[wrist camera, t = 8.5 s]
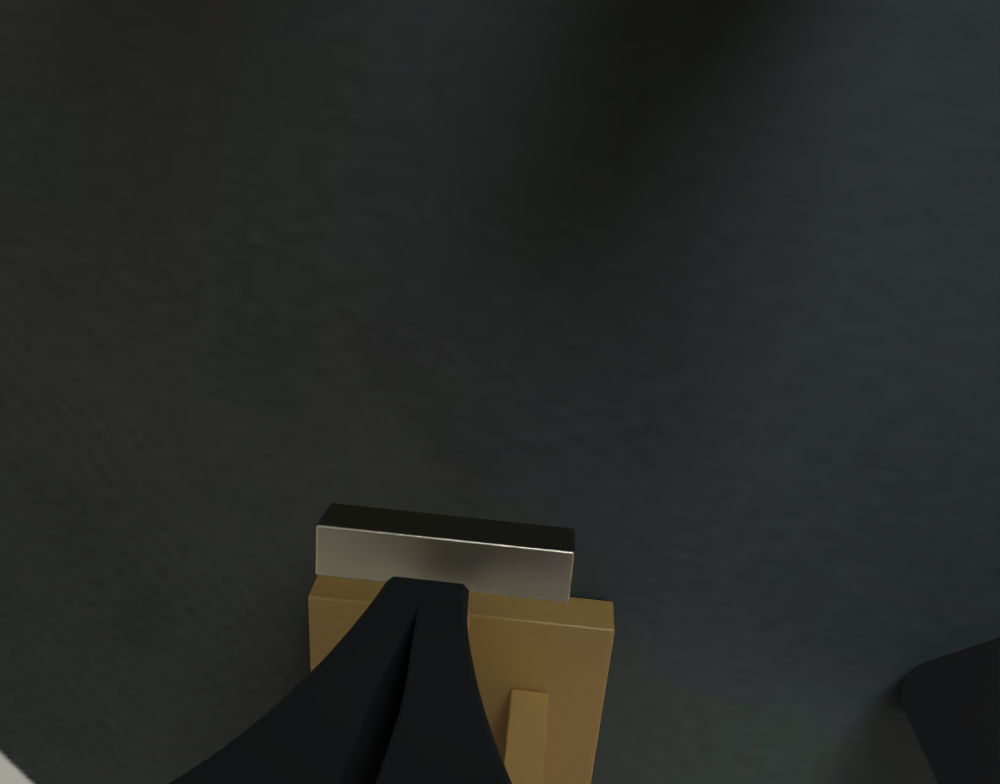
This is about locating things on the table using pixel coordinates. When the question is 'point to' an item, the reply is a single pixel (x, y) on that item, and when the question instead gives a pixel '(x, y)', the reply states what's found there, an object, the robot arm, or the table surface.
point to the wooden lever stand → (512, 671)
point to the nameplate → (958, 714)
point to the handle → (446, 551)
